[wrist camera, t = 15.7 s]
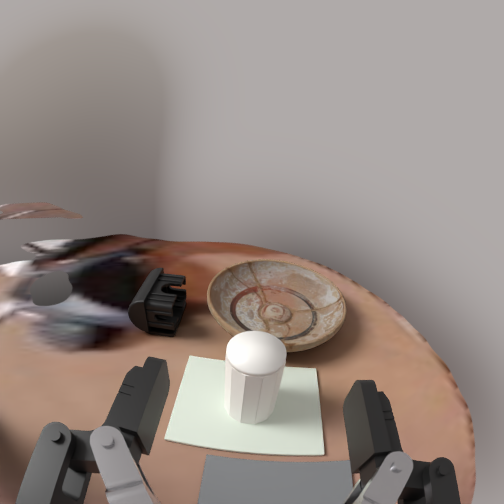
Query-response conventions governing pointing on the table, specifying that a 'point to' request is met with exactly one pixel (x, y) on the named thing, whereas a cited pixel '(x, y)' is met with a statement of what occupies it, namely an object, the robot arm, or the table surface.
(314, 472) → the mat
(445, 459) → the robot arm
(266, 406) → the white lidded canister
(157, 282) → the end cap
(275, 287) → the ceramic bowl
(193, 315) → the table surface
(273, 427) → the board
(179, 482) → the table surface
